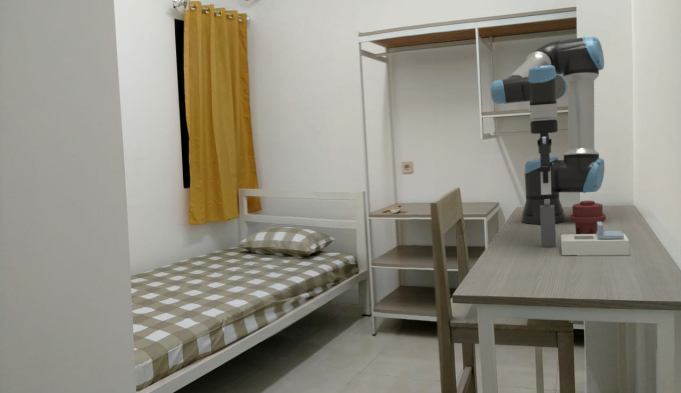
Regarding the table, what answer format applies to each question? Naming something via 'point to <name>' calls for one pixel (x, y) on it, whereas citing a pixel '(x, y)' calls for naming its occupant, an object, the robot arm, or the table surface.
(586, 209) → the mechanical component
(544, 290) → the table surface
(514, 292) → the table surface
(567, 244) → the socket
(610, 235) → the panel
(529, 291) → the table surface
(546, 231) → the plug
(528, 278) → the table surface
